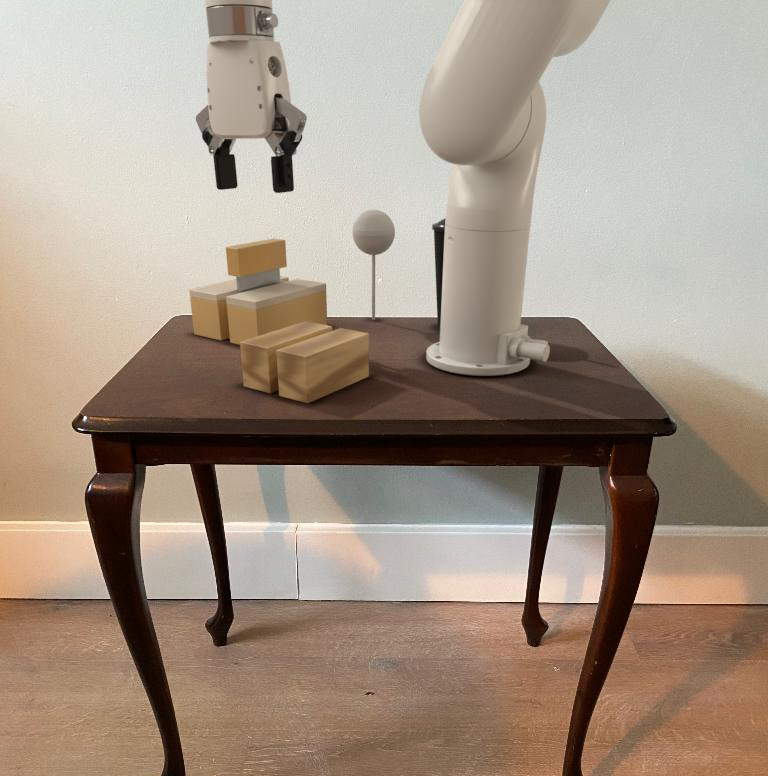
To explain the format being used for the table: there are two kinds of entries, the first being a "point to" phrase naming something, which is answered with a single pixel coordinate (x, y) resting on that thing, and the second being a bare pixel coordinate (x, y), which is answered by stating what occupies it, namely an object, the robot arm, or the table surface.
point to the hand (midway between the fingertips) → (254, 190)
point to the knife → (256, 263)
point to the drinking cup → (439, 262)
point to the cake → (256, 308)
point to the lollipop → (373, 238)
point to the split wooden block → (305, 360)
